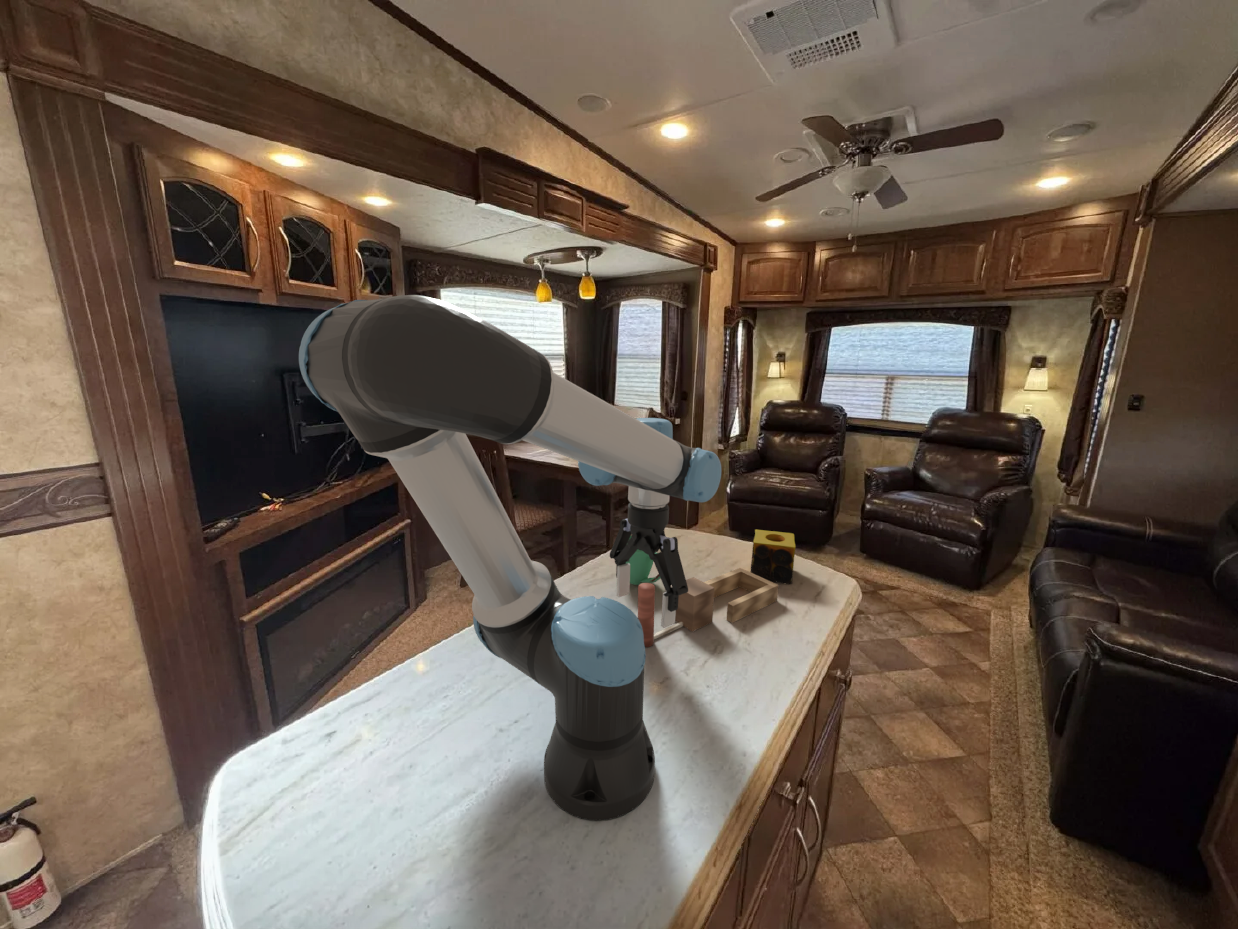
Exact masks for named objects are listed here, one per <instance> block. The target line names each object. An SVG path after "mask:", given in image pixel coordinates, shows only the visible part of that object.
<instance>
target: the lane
mask: <svg viewBox="0 0 1238 929" xmlns="http://www.w3.org/2000/svg"><path fill="white" fill-rule="evenodd" d="M703 582H704V583H706V584H708V585H710V586H712V587H714V599H715V598H717V597H719V596H722V595H723V594H726V593H728V592H731V591H733V590H736V589H738V588H742V589H744V590H746V591H749V593H747V594H744V595H743V596H740V597H737V598H735V599H733V600H732V601H729V602H727V605H726V606H727V608H726V621H728V622H730V623H731V624H734V623H735V622H737V621H740V620H742V619H743V618H746V617H747V616H750V615H751V614H753V613H756V612H757V611H759V610H762V609H764V608H766V607H768V606H770V605H772V604H774V603H776V602H778V595H779V584H778V583H776V582H771V581H768V580H766V579H764V578H762V577H760V576H757V575H755V574H753V573H751V571H749V570H746V569H744V568H742V567H739V568H736V569H733V570H730V571H729V572H725V573H723V574H720V575H718V576H715V577H714V578H711V579H709V580H706V581H703Z"/></svg>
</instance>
